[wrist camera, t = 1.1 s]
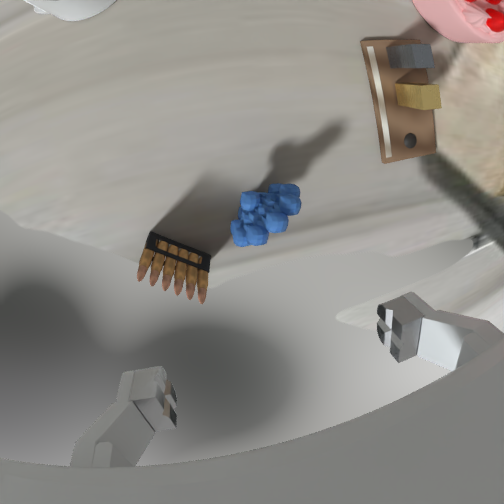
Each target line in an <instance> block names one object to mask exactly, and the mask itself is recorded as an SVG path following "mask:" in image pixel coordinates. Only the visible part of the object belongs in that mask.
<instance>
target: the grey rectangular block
mask: <svg viewBox="0 0 504 504" xmlns="http://www.w3.org/2000/svg"><path fill="white" fill-rule="evenodd" d="M386 51H387V55H388V59H389V64H390V68H435V66H434V61H433V56H432V51H431V46H430V44H407V45H399V46H391V47H386Z"/></svg>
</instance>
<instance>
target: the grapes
mask: <svg viewBox="0 0 504 504" xmlns="http://www.w3.org/2000/svg"><path fill="white" fill-rule="evenodd" d="M299 197H300V189H299V187H298V186H296V185H295V184H279V183H276V184H270V186H269V189H268V193H265V192H255V191H247V192H242V195H241V200H240V204H241V207H239V211H238V220H233V221H232V222H231V227H230V230H231V234H232V235H233V241H234V243H235V244H236V245H237V246H240V247H244V246H249V245H254V246H258V245H263V244H266V243H267V240H268V236H269V232H272V233H280V232H284V231H286V229H287V226H288V221H289V220H288V216H291V215H297V214H298V213H299V211H300V208H301V200H300V198H299ZM268 231H269V232H268Z"/></svg>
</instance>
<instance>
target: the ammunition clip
mask: <svg viewBox="0 0 504 504" xmlns="http://www.w3.org/2000/svg"><path fill="white" fill-rule="evenodd" d="M154 252H155V255H154ZM153 255H154V257H153ZM165 256H166V259H165ZM210 259H211V256H210V255H209V254H206V253H204V252H201V251H199V250H196V249H194V248H191V247H188V246H186V245H183V244H181V243H178V242H176V241H173V240H171V239H168V238H166V237H163V236H161V235H158V234H156V233H153V232H150V233H149V235H148V238H147V241H146V244H145V248H144V250H143V253H142V256H141V258H140V262H139V269H138V273H137V279H138V281H139V282H140V281H141V280H142V279H143V278H144V276H145V274H146V272H147V270H148V268H149V266H150V264H151V261H152V265H151V274H150V285H151V286H154V285H155V283H156V282H157V280H158V277H159V275H160V272H161V270H162V268H163V266H164V268H163V280H162V287H163V290H164V291H166V290H167V289H168V287H169V286H170V283H171V279H172V276H173V274H174V270H175V274H174V278H175V281H174V282H175V283H174V290H175V294H176V295H179V294H180V292H181V290H182V287H183V282H184V280H185V276H186V294H187V297H188V299H189V300H191V299H192V297H193V295H194V291H195V285H196V282H197V287H198V299H199V302H200V303H201V304H203V303H204V301H205V298H206V291H207V286H208V273H209V269H210ZM164 260H165V261H164ZM176 260H177V262H176ZM186 269H187V270H186Z"/></svg>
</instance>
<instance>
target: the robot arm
mask: <svg viewBox="0 0 504 504" xmlns="http://www.w3.org/2000/svg"><path fill="white" fill-rule="evenodd" d="M24 1H26V2H28V3H30V4H32V5H34V11H35V12H37V13H38V14H52V15H54V16H56V17H58V18H60V19H62V20H66V21H78V20H83V19H87V18H89V17H92V16H94V15H96V14H98V13H100V12H102V11H103V10H105V9H106V8H108V7H109V6H110V5H112V4H113V3H114V2H115V1H116V0H24ZM377 314H378V315H379V317H380V319H379V321H378V322H377V332H378V336H379V338H380V340H381V342H382V343H383V345H385V346H387V347H390V353H391V355H392V356H393V357H394V358H395V359H396V361H397V362H398V363H400V362H402V361H404V360H406V359H409V358H411V357H413V356H416V355H417V356H418V357H420V358H422V359H425V360H427V361H429V362H432V363H434V364H436V365H439V366H441V367H443V368H446V369H448V370H450V371H452V372H450V373H448V374H447V375H445V376H443V377H441V378H439V379H438V380H436V381H434V382H432V383H431V384H429V385H427V386H425V387H423V388H421V389H419V390H417V391H415V392H413V393H411V394H409V395H407V396H405V397H403V398H401V399H399V400H397V401H394V402H392V403H390V404H388V405H385V406H383V407H381V408H379V409H376V410H374V411H372V412H369V413H367V414H364V415H362V416H360V417H357V418H355V419H352V420H350V421H347V422H344V423H341V424H339V425H336V426H333V427H330V428H327V429H325V430H322V431H319V432H315V433H313V434H309V435H306V436H303V437H300V438H297V439H293V440H290V441H286V442H282V443H279V444H275V445H271V446H267V447H263V448H259V449H255V450H250V451H246V452H241V453H236V454H231V455H226V456H221V457H215V458H209V459H203V460H196V461H189V462H182V463H173V464H163V465H151V466H135V465H136V464H137V462H138V461H139V459H140V457H141V456H142V454H143V453H144V451H145V449H146V448H147V446H148V445H149V443H150V441H151V440H152V438H153V436H154V435H155V432H158V431H164V430H170V429H175V428H176V427H177V414H176V413H175V411H174V408H175V407H176V406H177V397H176V392H175V390H174V387H173V385H172V383H171V382H170V381H168V380H166V372H165V371H164V369H163V367H161V366H158V367H152V368H146V369H140V370H134V371H128V372H124V373H123V374H122V377H121V381H120V385H119V390H118V394H117V399H116V403H113V404H111V405H110V406H109V408H108V409H107V410H106V411H105V412H104V413H103V414H102V415H101V416H100V417H99V418H98V419H97V420H96V421H95V422H94V423H93V424H92V426H90V427H89V429H88V430H87V431H86V432H85V433H84V434H83V435H82V436H81V437H80V438H79V439H78V440H77V441H76V442H75V446H74V450H73V455H72V459H71V463H70V466H56V465H45V464H35V463H28V462H21V461H15V460H9V459H4V458H0V504H504V333H503V332H501V331H500V330H499V329H498V328H497V327H495V326H494V325H493V324H492V323H490V322H489V321H486V320H482V319H477V318H473V317H468V316H464V315H459V314H455V313H450V312H446V311H442V310H437V311H435V310H434V309H433V308H432V307H430V306H429V305H428V304H427V303H426V302H425V301H423V300H422V299H421V298H420V297H419V296H417V295H416V294H415V293H414V292H409V293H406V294H404V295H402V296H400V297H398V298H395V299H392V300H390V301H387V302H385V303H382V304H379V305H378V308H377Z"/></svg>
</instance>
